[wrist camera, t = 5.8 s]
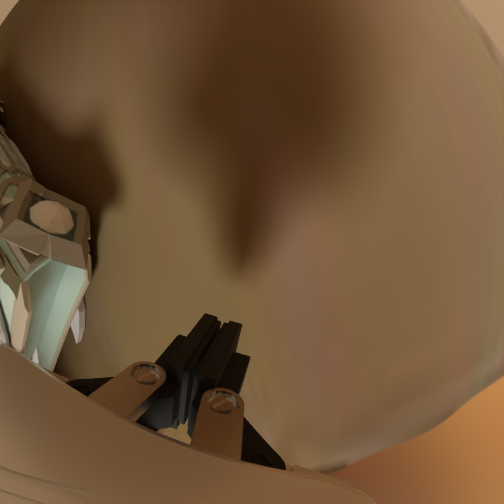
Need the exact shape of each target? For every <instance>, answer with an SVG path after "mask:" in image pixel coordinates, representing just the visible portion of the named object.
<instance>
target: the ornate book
mask: <svg viewBox="0 0 504 504" xmlns="http://www.w3.org/2000/svg"><path fill="white" fill-rule="evenodd" d="M0 102H1V103H4V102H2V101H0ZM0 111H2V112H3V109H2V108H1V107H0ZM4 131H5V132H6V130H5V129H4V128H3V127H2V126H1V125H0V344H1V345H4V346H7V347H10V348H12V349H14V350H16V351H18V352H19V353H21V354H23V355H24V356H26V357H28V358H29V359H30V360H32V361H33V362H35V363H36V364H38V365H39V366H41V367H43V368H45V369H47V370H49V371H52V372H53V370H54V368H55V365H56V362H57V359H58V356H59V354H60V351H61V348H62V346H63V343H64V340H65V338H66V335H67V333H68V330H69V328H70V326H71V328H72V331H73V334H74V337H75V341H76V344H77V343H78V342H80V341H81V340H82V336H83V332H84V328H85V312H86V308H85V304H84V299H83V296H84V294H85V292H86V290H87V288H88V286H89V284H90V282H91V276H92V271H91V255H89V251H90V246H89V243H88V240H87V239H89V240H90V239H91V236H90V216H89V213H88V211H87V209H86V207H85V206H83V205H81V204H79V203H76V202H74V201H72V200H70V199H68V198H66V197H64V196H61V195H59V194H57V193H55V192H52V191H50V190H48V189H46V188H45V187H43V186H42V185H40V184H39V183H38V182H36V180H35V178H34V177H33V175H32V173H31V170H30V168H29V165H28V163H27V162H26V160H25V159H24V157H23V156H22V154H21V153H20V151H19V150H18V148H17V147H16V145H15V144H14V142H13V141H11V140H10V139H9V138H8V137H7V135H6V134H5V132H4Z"/></svg>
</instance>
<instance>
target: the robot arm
mask: <svg viewBox="0 0 504 504" xmlns="http://www.w3.org/2000/svg"><path fill="white" fill-rule="evenodd" d="M220 326H221V321H218V320H217V317H216V316H213V315H209V314H206V313H205V314H204V315H203V316H202V318H201V319H200V320H199V322H198V323H197V324H196V325H195V327H194V328H193V329H192V331H191V332H190V333H189V334H188V336H187V337H186V336H183V335H178V336H177V337H176V338H175V339H174V340H173V342H172V343H171V344H170V345H169V346H168V348H167V349H166V350H165V351H164V352H163V353H162V355H161V356H160V357H159V358H158V359H157V361H156V362H155V363H152V362H147V361H140V362H136V363H133V364H131V365H130V366H129V367H127V368H126V369H124V370H123V371H122V372H120V373H119V374H118V375H116V376H115V377H107V378H94V379H77V380H72V381H68V378H66V377H64V376H61V375H59V374H57V373H54V372H52V371H49V370H47V369H45V368H43V367H41V366H39V365H38V364H36V363H35V362H33V361H32V360H30V359H29V358H28V357H26V356H24V355H23V354H21V353H19V352H18V351H16V350H14V349H12V348H10V347H7V346H4V345H1V344H0V504H375V503H374V501H373V500H372V499H371V498H370V497H369V496H367V495H366V494H364V493H362V492H361V491H359V490H357V489H355V488H354V486H353V485H352V484H351V483H350V482H348V481H346V480H344V479H340V478H337V477H333V476H329V475H326V474H322V473H319V472H316V471H312V470H309V469H306V468H303V467H300V466H297V465H294V466H293V467H292V466H289V465H286V464H285V463H284V461H283V460H282V458H281V457H280V456H279V455H278V454H277V453H276V452H275V451H274V450H273V449H272V448H271V446H270V445H269V444H268V443H267V442H266V441H265V440H264V439H263V438H262V437H261V436H260V434H259V433H258V432H257V431H256V430H255V429H254V428H253V427H252V425H251V424H250V423H249V422H248V421H247V420H246V419H245V417H244V401H243V400H242V398H241V397H240V396H239V394H240V391H241V388H242V385H243V381H244V378H245V375H246V371H247V368H248V364H249V361H250V356H247V355H243V354H240V353H236V349H237V345H238V340H239V336H240V332H241V328H242V324H240V323H236V322H233V321H229V323H225V322H224V324H223V325H222V327H221V329H220ZM188 416H189V417H188ZM187 418H188V432H187V433H188V435H189V436H190V438H191V443H190V445H189V444H186V443H184V442H181V441H178V440H176V439H173V438H171V437H168V436H166V435H163V434H162V433H163V431H164V428H169V427H172V428H174V429H177V427H178V425H179V424H180V423H182V424H185V422H186V420H187Z"/></svg>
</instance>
